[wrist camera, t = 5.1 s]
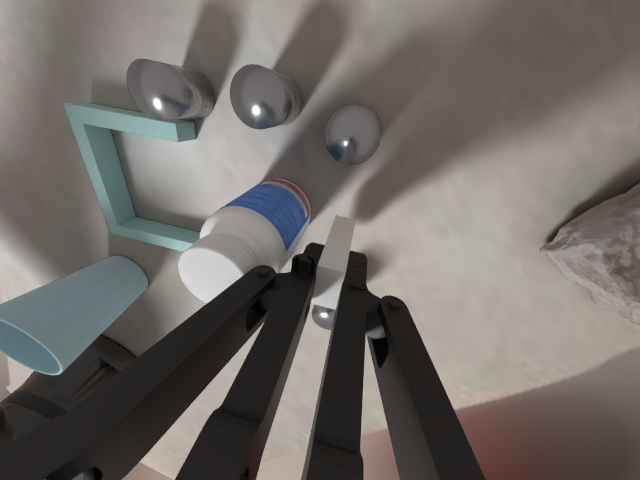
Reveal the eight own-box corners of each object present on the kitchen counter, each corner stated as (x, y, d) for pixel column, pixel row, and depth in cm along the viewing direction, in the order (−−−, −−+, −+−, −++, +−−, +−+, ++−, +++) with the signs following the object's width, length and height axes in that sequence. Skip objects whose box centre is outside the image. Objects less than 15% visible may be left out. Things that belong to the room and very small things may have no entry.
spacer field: (203, 268, 26) (176, 292, 22) (171, 57, 16) (117, 43, 13) (346, 304, 24) (342, 337, 21) (405, 93, 15) (414, 88, 11)
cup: (119, 296, 32) (18, 370, 23) (87, 246, 28) (-48, 311, 19) (166, 299, 30) (77, 381, 21) (138, 247, 26) (17, 318, 17)
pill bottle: (253, 169, 19) (155, 217, 11) (317, 185, 18) (265, 249, 10) (251, 228, 22) (172, 301, 14) (306, 243, 21) (259, 330, 13)
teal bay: (128, 224, 25) (110, 233, 23) (90, 103, 19) (62, 102, 17) (209, 244, 24) (196, 254, 22) (194, 122, 18) (175, 123, 16)
